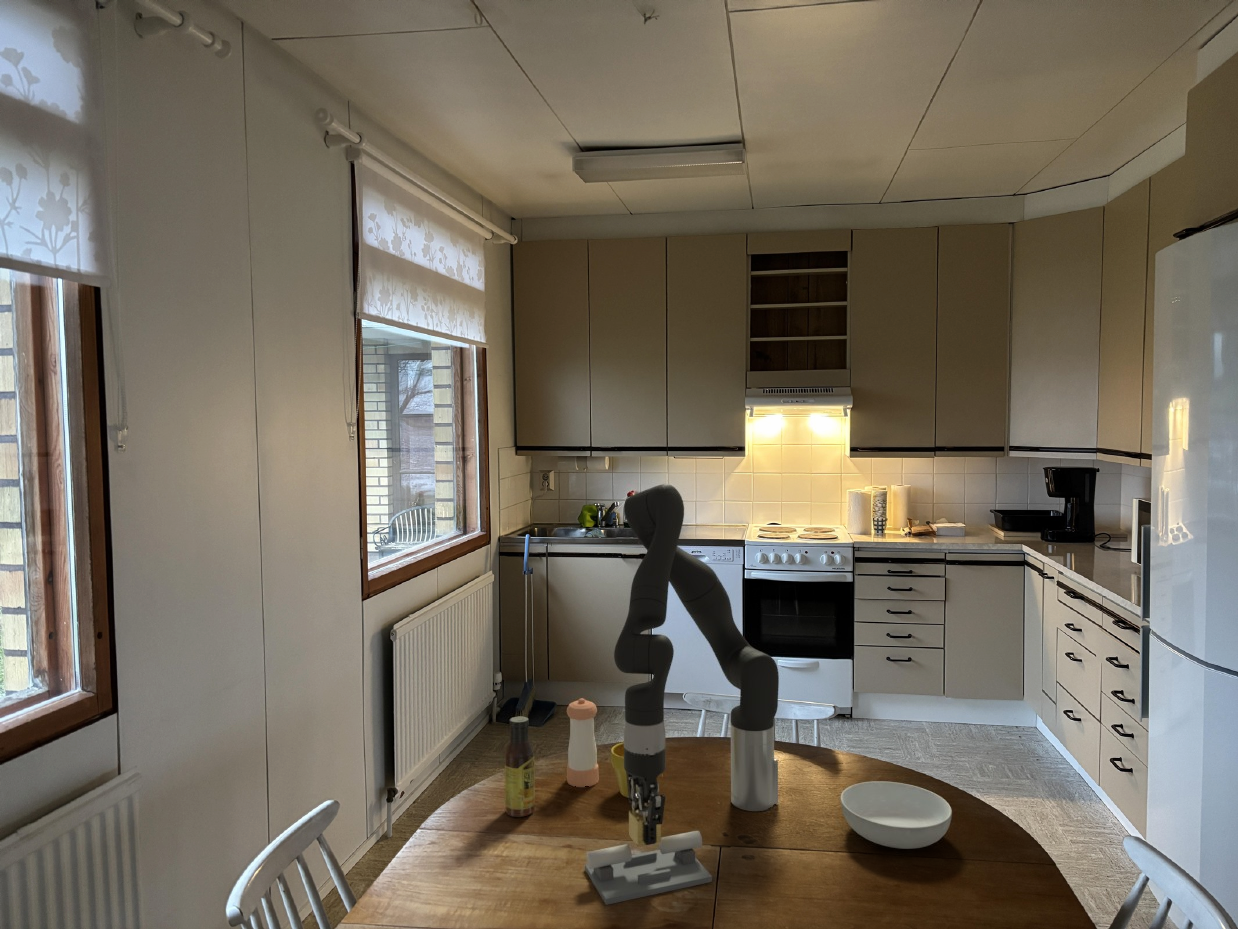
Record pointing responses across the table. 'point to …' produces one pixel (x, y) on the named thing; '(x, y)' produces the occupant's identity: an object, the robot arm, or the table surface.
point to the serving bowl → (896, 814)
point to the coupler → (640, 827)
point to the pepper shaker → (582, 744)
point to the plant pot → (619, 767)
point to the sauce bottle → (519, 770)
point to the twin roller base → (647, 869)
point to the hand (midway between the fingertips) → (645, 836)
